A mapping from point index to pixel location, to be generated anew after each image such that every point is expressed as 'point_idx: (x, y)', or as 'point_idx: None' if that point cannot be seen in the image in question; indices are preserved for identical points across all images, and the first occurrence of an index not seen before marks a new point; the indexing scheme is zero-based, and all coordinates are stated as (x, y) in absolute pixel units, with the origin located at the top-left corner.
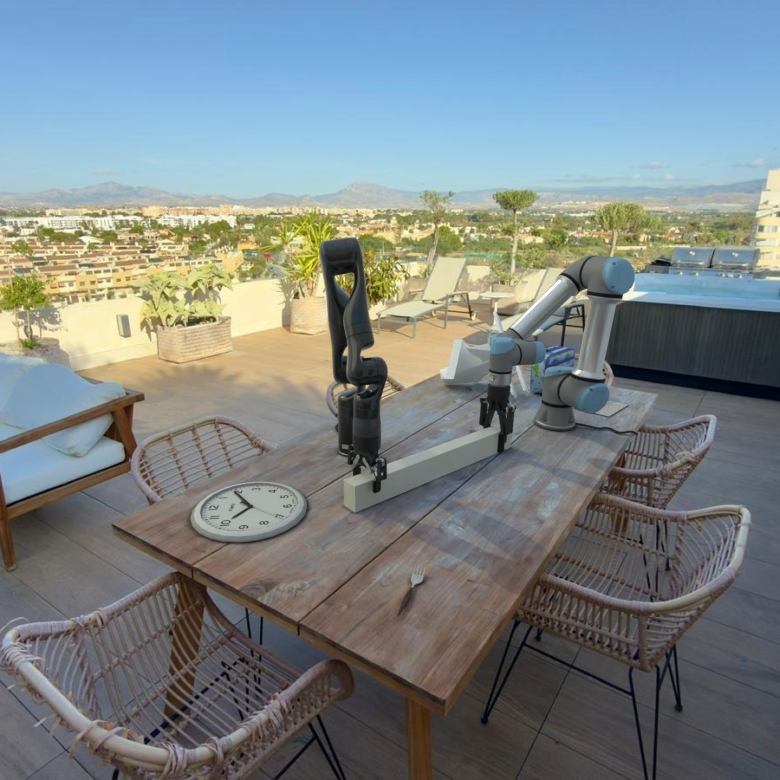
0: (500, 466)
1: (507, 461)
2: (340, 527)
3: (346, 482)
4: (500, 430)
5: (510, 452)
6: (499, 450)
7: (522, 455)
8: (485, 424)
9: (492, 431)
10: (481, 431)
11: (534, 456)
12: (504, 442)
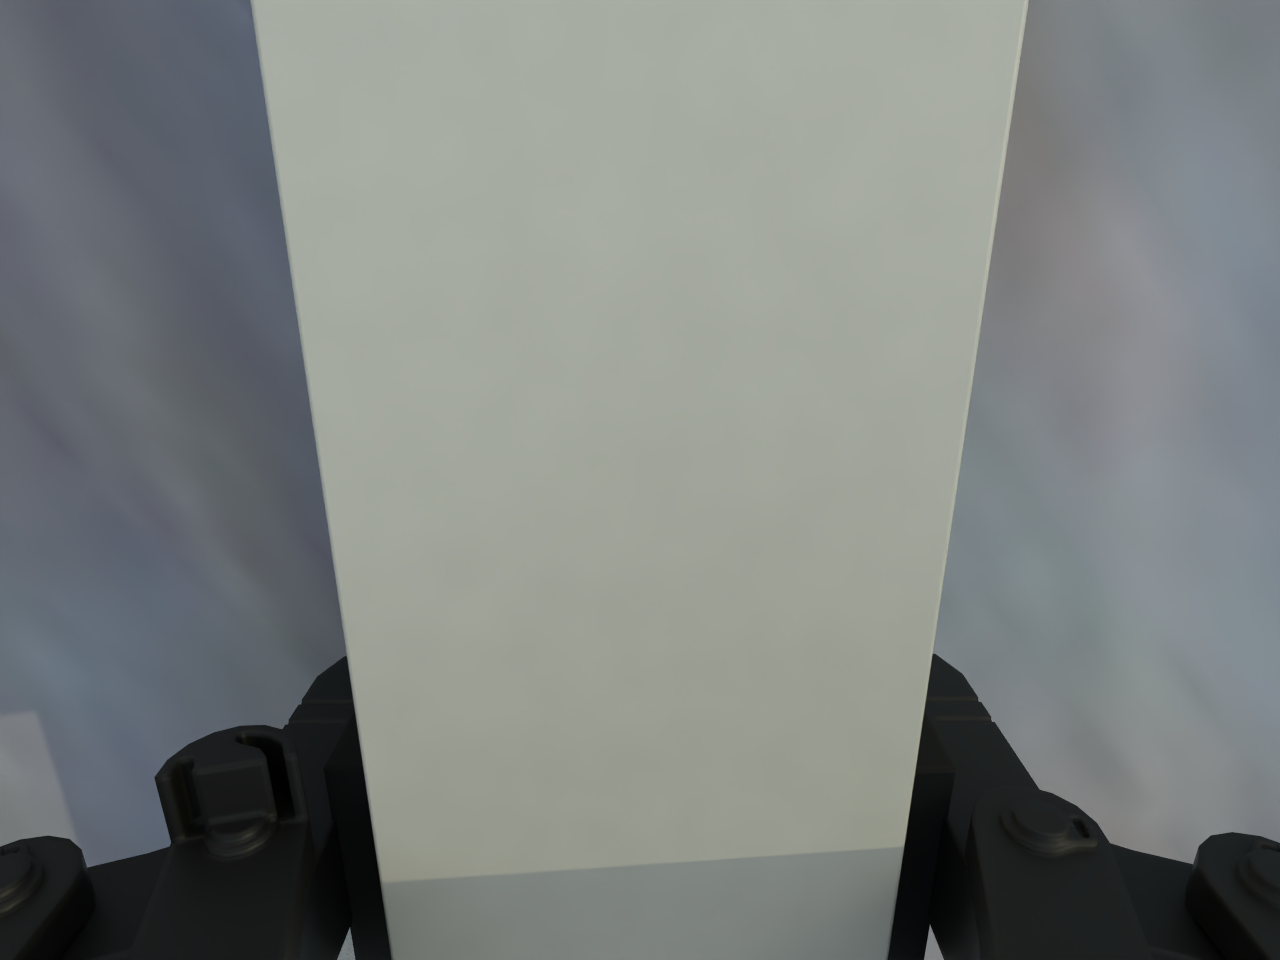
0: (23, 68)
1: (147, 378)
2: None
3: None
4: (434, 945)
5: None
6: None
7: None
8: (1050, 919)
9: (535, 701)
10: (839, 374)
11: (95, 840)
12: (318, 692)
